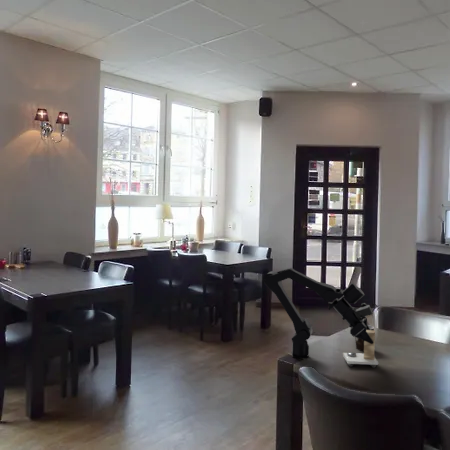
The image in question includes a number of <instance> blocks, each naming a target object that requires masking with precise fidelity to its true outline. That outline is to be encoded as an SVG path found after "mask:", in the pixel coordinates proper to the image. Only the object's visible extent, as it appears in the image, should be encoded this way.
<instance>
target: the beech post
mask: <svg viewBox="0 0 450 450" xmlns="http://www.w3.org/2000/svg"><path fill="white" fill-rule="evenodd" d="M366 331H367V333H368V334H369V336H370V337H371V339H372V340H373V342H374V343H373V344H370V343H368V342H366V341H364V351H363V353H364V359H370V360H374V357H375V347H376V346H375V345H376V344H375V343H376V342H375V340H376V331H375V329H374V330H366Z"/></svg>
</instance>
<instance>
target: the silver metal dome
mask: <svg viewBox="0 0 450 450" xmlns="http://www.w3.org/2000/svg"><path fill="white" fill-rule="evenodd" d="M346 353H347V355H348V356H350V357H356V352H353V351H352V352H351V351H349V352H346Z"/></svg>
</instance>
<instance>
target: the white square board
mask: <svg viewBox="0 0 450 450" xmlns="http://www.w3.org/2000/svg"><path fill="white" fill-rule="evenodd" d="M347 353H348V352H342V356H343V358H344V359H345V362H346V363H347V365H348V367H350V368H351V367H352V368H353V366H354V365H370V366H371V367H372V368H373V369H374V368H376V366H378V365H379V361H378V360H377V359H376V356H374V360H370V359H364V352H363V353H360V352H357V353H356V352H355V353H356V357H350V356H348V355H347Z"/></svg>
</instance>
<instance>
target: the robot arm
mask: <svg viewBox="0 0 450 450" xmlns="http://www.w3.org/2000/svg"><path fill="white" fill-rule="evenodd" d="M288 279H290V280H292V281H295V282H296V283H298V284H300V285H302V286H304V287H305V288H307V289H309V290H312V291H313V292H315V293H316V294H317V295H318V296H319V297H320V298H321V299H323V300H324V301H327V303H328V311H330V310H332V309H333V308H334V310H335V311H336V312H337V313H338V314H339V315H340V316H341V319H342V320H343V321H346V323H347V324H348V326H349V328H350V331H349V333H350V334H351V336H353V337H354V338H355V337H357V338H359V339H362V340H364V341H366V342H368V343H370V344H373V343H374V342H373V340H372V339H371V337H370V336H369V334H368V333H367V331H366V330H370V328H369V326H368V325H369V324H368V317H367V316H372V315H373V310H372V308H371V306H370V304H367V303H366V302H362V303H361V305H360V307H359V308H356V307H354V306H352V305H351V304H354V305H355V304H356V303H357V302H358V301H359V300H361V299H362V298H363V297H364V296H365V293H364V291H363V290H362V289H361V288H360V287H359V286H357V285H356V284H355V283H354V282H352V283H350V284H349V286H348V287H346V288H345V289H340V288H336V286H334V285H332V284H328V283H325V282H321V281H318V280H315V279H313V278H311V277H309V276H308V275H305V274H304V273H302V272H299V271H297V270H296V269H294V268H293V267H288V268H286V269H282V270H279V271H273V270H271V271H269V272H268V273H266V274H265V275H264V276H263V283H264V285H265V286H266V287H267V288H268V289H269V290H270V291H271V292H272V293H273V294H274V295H275V296H276V298H277V300H278V302H280V304H281V306H282V307H283V309H284V310H285V312H286V314H287V315H288V317H289V318H290V320H291V322H292V325H293V328H294V329H293V330H294V334H293V336H292V337H291V352H290V353H291V357H292V358H300V359H302V358H304V359H305V358H306V359H308V357H309V352H310V350H309V349H310V345H309V344H308V340H309V339H310V338H311V336H312V333H313V324H312V323H311V322H310V320H309V318H308V317H306V318H304V317H303V316H302V315H301V314H300V312H299V311H298V310H297V308H296V306H295V304H294V303H293V301H292V300H291V298H290V296H289V295H288V293H287V292H286V290H285V289H284V285H283V282H282V281H285V280H288Z"/></svg>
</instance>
